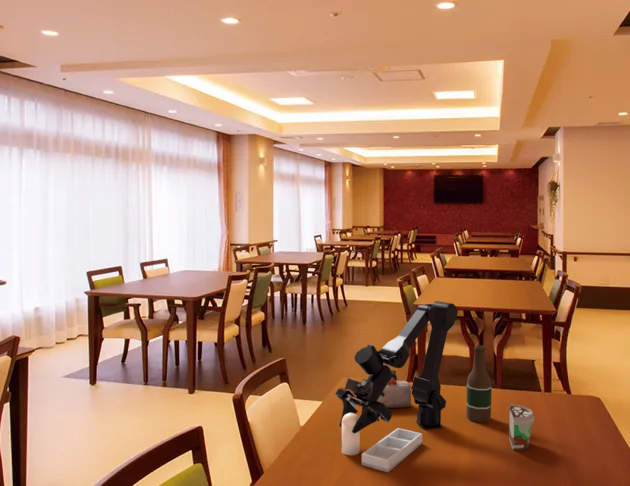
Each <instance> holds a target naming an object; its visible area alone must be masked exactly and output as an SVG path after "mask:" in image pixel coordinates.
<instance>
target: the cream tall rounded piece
mask: <svg viewBox="0 0 630 486" xmlns="http://www.w3.org/2000/svg"><path fill="white" fill-rule="evenodd" d="M358 419H359V416H358V415H357V413H356V414H354V413H347V414H345V415H344V416H343V418H342V428H341V453H342V455H345V456H357V455H359V453H360V439H361V438H360V436H361V435H360V432H361V430H360V431H358V432H357V433H355V434H354V433H353V432H352V430H353V428H354V426H355V424H356V423H357V421H358Z"/></svg>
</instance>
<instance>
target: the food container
mask: <svg viewBox="0 0 630 486" xmlns="http://www.w3.org/2000/svg"><path fill="white" fill-rule="evenodd" d="M508 411H509V412H508V413H509V415H508V416H509V417H508V419H509V420H508V421H509V422H508V438H509V442H510V446H511V448H512V451H514V452H517V451H518V452H519V450H521V451H524V450H525V451H526V450H527V449H529V448H530V442H531V434H532V424H533V423H534V422H535V416H534V414H533V411H532V410H531V409H530V408H528V407H526V406H522V405H519V404H515V403H514V404H513V403H510V404H509V405H508ZM515 450H516V451H515Z"/></svg>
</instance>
